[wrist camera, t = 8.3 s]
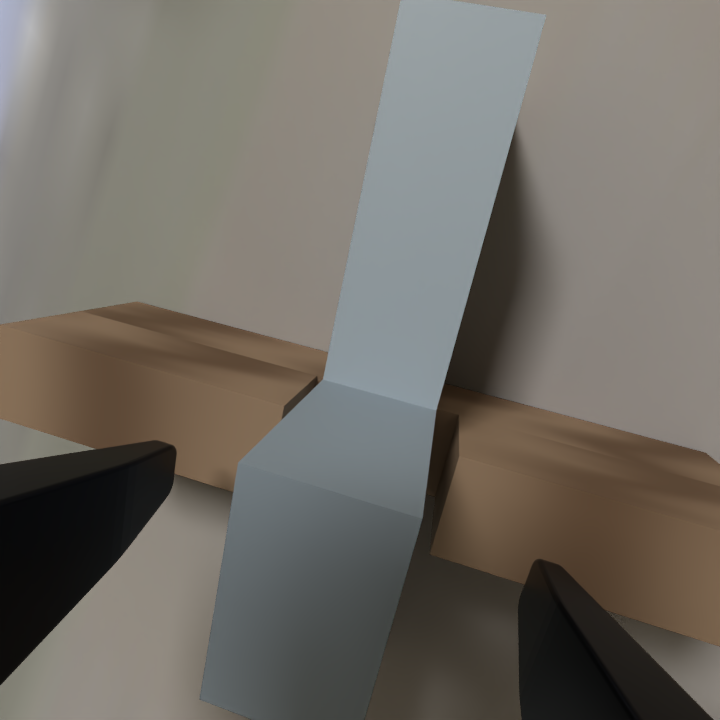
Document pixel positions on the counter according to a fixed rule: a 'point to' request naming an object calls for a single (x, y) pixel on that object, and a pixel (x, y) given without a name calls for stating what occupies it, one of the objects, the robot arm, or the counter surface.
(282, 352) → the walnut slotted plate
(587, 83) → the counter surface
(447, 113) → the pale blue collared bar
